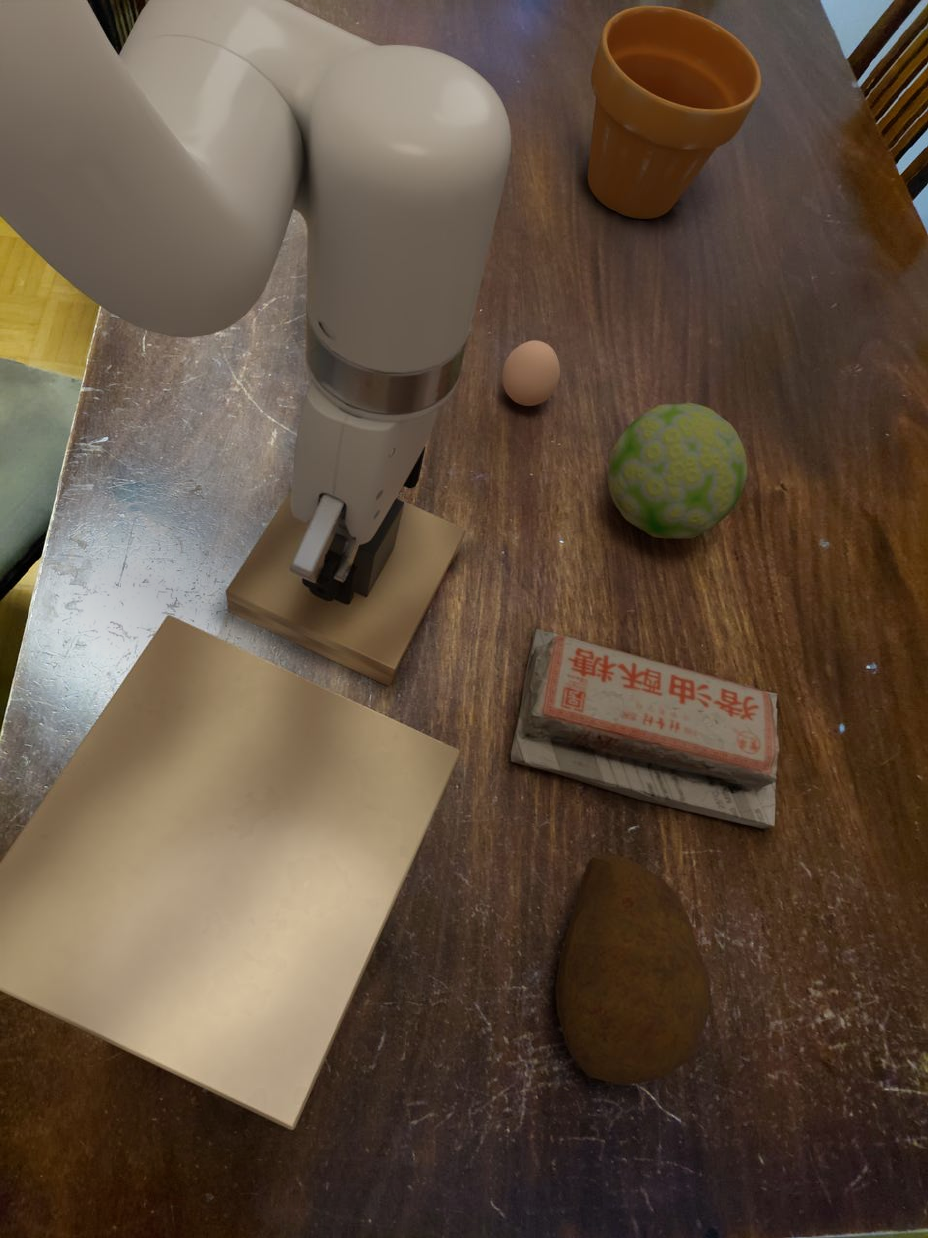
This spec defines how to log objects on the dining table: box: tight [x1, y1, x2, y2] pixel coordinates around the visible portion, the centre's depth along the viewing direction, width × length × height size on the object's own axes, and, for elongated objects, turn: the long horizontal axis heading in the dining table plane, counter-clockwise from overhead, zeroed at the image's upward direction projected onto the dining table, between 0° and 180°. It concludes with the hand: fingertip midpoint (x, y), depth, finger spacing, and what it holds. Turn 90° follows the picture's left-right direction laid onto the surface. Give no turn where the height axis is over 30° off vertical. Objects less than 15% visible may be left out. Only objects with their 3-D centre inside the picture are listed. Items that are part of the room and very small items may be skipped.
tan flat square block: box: [225, 490, 467, 688], centre depth 63 cm, size 12×12×3 cm
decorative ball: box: [607, 402, 748, 540], centre depth 67 cm, size 10×10×10 cm
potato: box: [555, 851, 712, 1087], centre depth 51 cm, size 8×12×9 cm
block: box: [329, 497, 404, 597], centre depth 59 cm, size 4×4×6 cm
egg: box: [501, 339, 561, 407], centre depth 72 cm, size 4×4×6 cm
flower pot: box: [587, 5, 762, 220], centre depth 83 cm, size 14×14×13 cm
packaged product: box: [510, 628, 781, 829], centre depth 61 cm, size 18×5×10 cm
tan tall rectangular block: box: [0, 614, 461, 1131], centre depth 39 cm, size 10×11×30 cm
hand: (362, 532), depth 58 cm, fingers open, 9 cm apart
